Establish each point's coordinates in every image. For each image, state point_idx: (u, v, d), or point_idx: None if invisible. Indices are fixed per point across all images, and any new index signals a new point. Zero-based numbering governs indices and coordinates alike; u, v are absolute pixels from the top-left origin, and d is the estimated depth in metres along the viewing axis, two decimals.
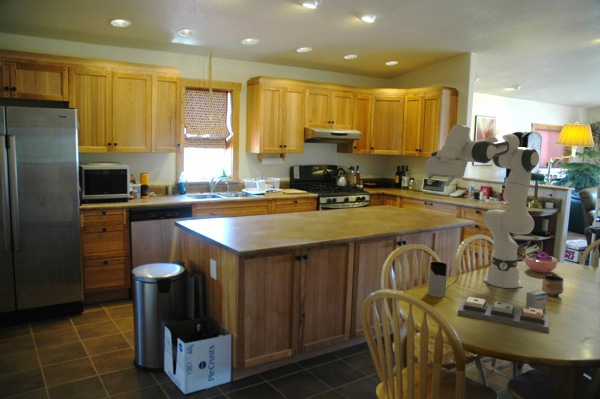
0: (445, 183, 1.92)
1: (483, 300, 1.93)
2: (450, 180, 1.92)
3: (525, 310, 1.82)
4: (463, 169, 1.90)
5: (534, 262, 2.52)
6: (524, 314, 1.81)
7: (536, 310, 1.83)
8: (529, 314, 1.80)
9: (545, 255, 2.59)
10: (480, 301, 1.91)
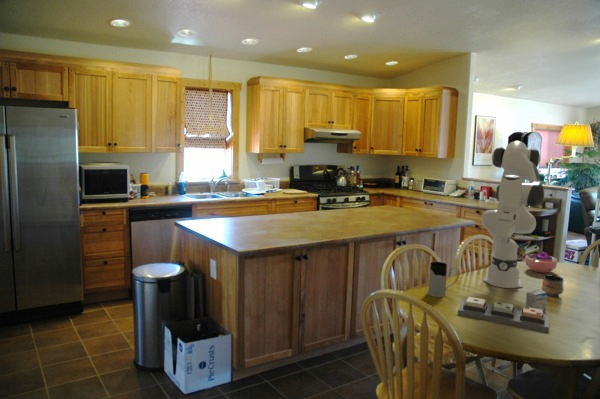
0: None
1: (483, 300, 1.93)
2: None
3: (525, 310, 1.82)
4: None
5: (534, 262, 2.52)
6: (524, 314, 1.81)
7: (536, 310, 1.83)
8: (529, 314, 1.80)
9: (545, 255, 2.59)
10: (480, 301, 1.91)
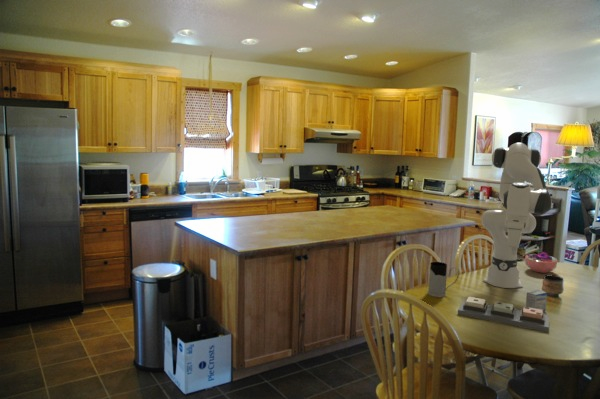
0: (516, 252, 1.87)
1: (483, 300, 1.93)
2: None
3: (525, 310, 1.82)
4: None
5: (534, 262, 2.52)
6: (524, 314, 1.81)
7: (536, 310, 1.83)
8: (529, 314, 1.80)
9: (545, 255, 2.59)
10: (480, 301, 1.91)
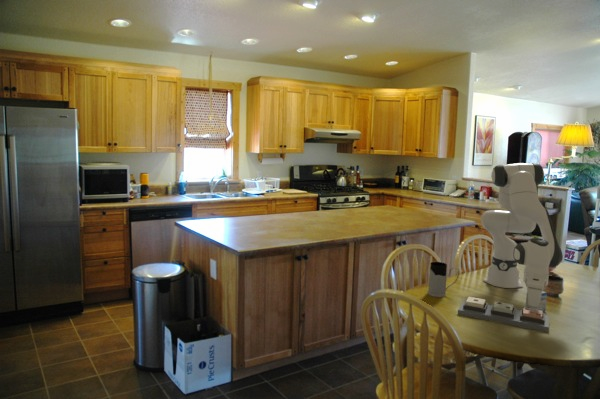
0: None
1: (483, 300, 1.93)
2: None
3: (525, 311, 1.82)
4: None
5: None
6: (524, 315, 1.81)
7: (536, 311, 1.83)
8: (529, 315, 1.80)
9: None
10: (480, 301, 1.91)
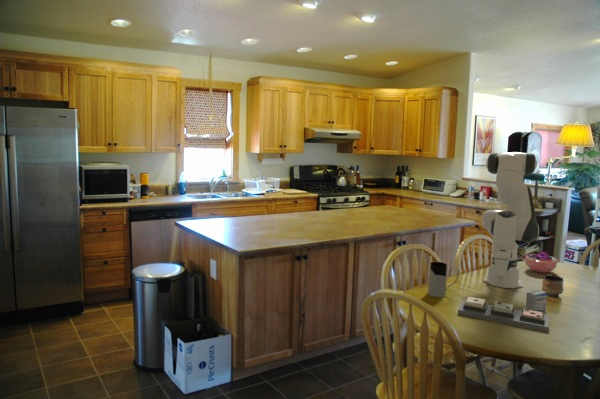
0: None
1: (483, 300, 1.93)
2: None
3: (525, 313, 1.83)
4: None
5: (534, 262, 2.52)
6: None
7: (536, 313, 1.83)
8: None
9: (545, 255, 2.59)
10: (480, 301, 1.91)
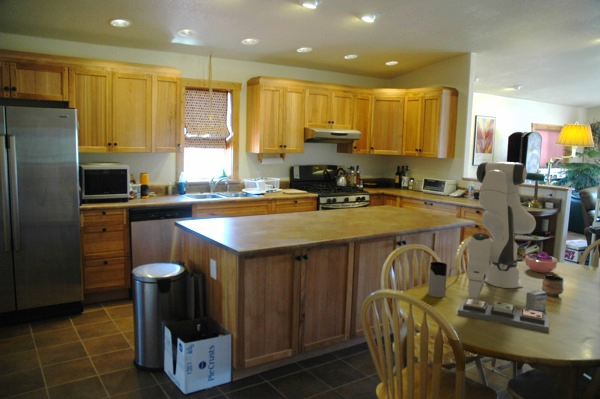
0: None
1: (483, 302, 1.93)
2: None
3: (525, 313, 1.83)
4: None
5: (534, 262, 2.52)
6: None
7: (536, 313, 1.83)
8: None
9: (545, 255, 2.59)
10: (479, 304, 1.91)
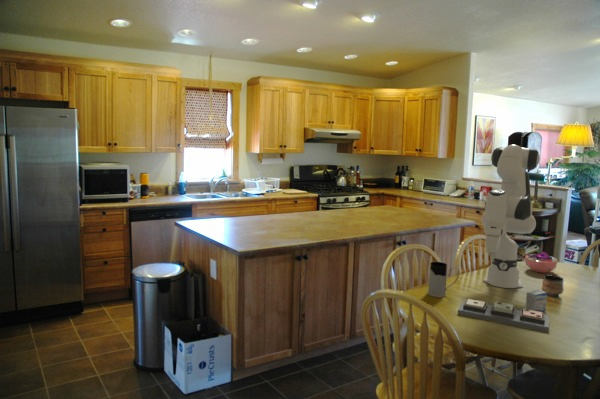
0: None
1: (483, 302, 1.93)
2: None
3: (525, 313, 1.83)
4: None
5: (534, 262, 2.52)
6: None
7: (536, 313, 1.83)
8: None
9: (545, 255, 2.59)
10: (479, 304, 1.91)
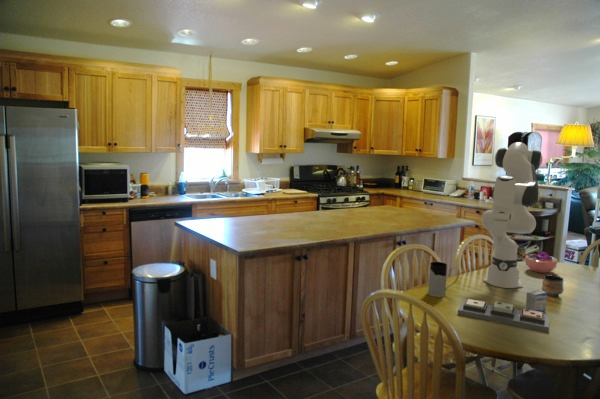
0: (502, 242, 1.95)
1: (483, 302, 1.93)
2: None
3: (525, 313, 1.83)
4: None
5: (534, 262, 2.52)
6: None
7: (536, 313, 1.83)
8: None
9: (545, 255, 2.59)
10: (479, 304, 1.91)
